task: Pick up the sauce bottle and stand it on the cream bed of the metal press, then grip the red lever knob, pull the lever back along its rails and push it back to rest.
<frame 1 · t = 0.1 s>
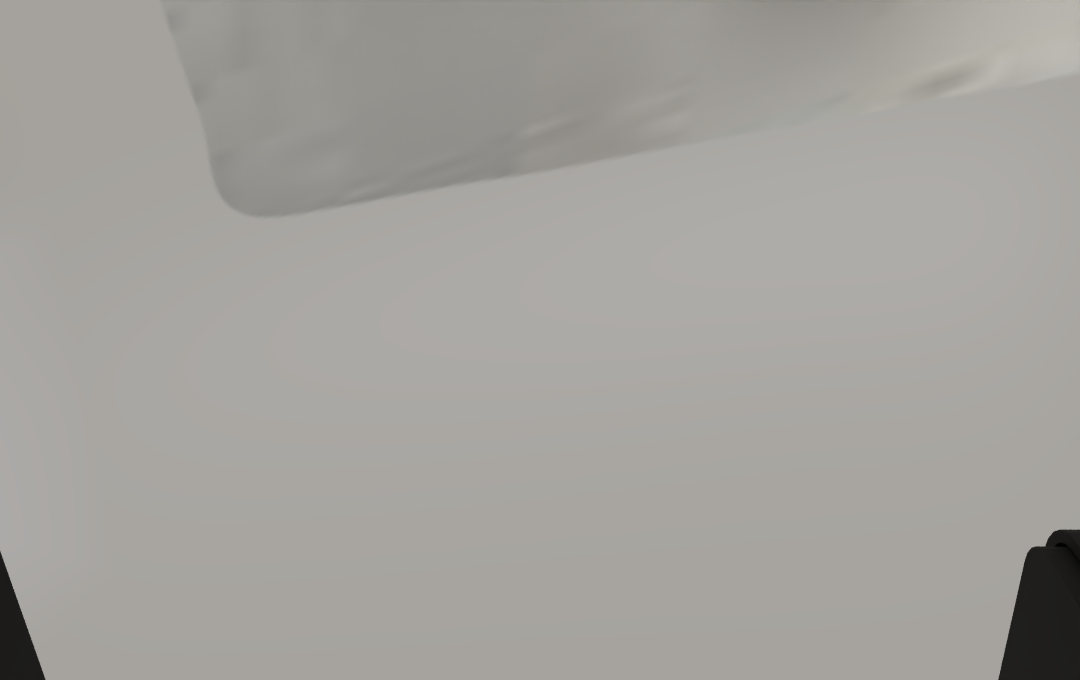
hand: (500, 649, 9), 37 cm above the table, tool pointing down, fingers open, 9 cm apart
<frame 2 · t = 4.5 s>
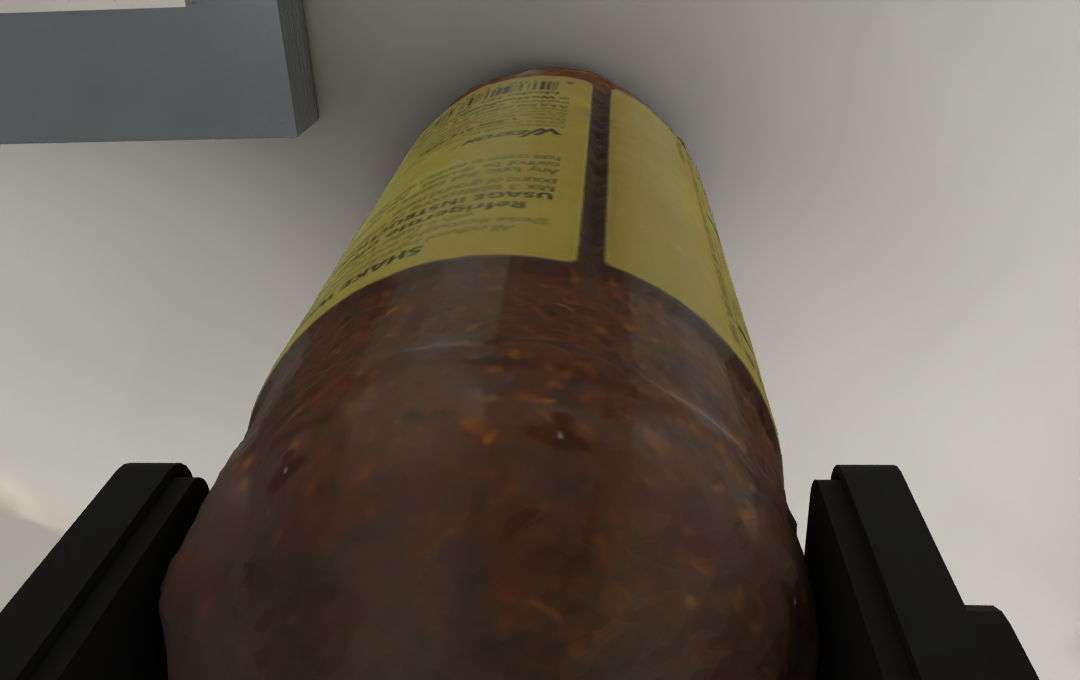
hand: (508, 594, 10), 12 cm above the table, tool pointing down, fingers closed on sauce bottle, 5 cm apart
sauce bottle: (564, 205, 21), on the table, touching gripper
when the fingers open (15 cm above the table, at t = 9.8 s): sauce bottle drops 1 cm, resting on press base.
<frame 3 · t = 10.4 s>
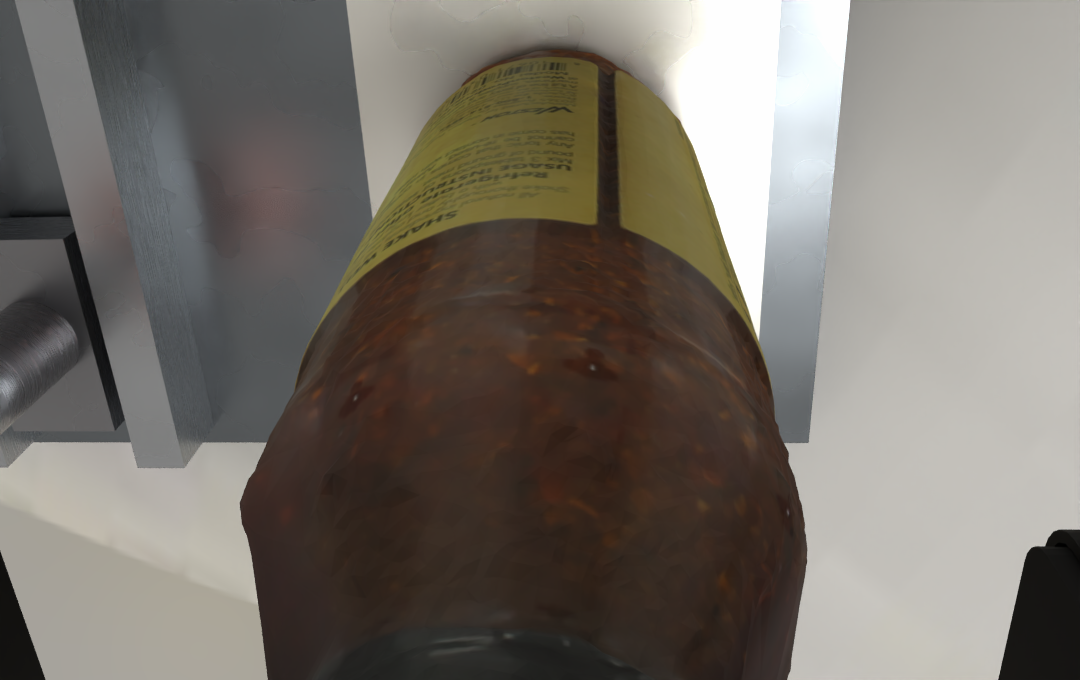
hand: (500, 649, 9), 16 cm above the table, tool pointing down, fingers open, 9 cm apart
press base: (367, 169, 24), on the table
sauce bottle: (567, 180, 22), point 2 cm above the table, touching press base
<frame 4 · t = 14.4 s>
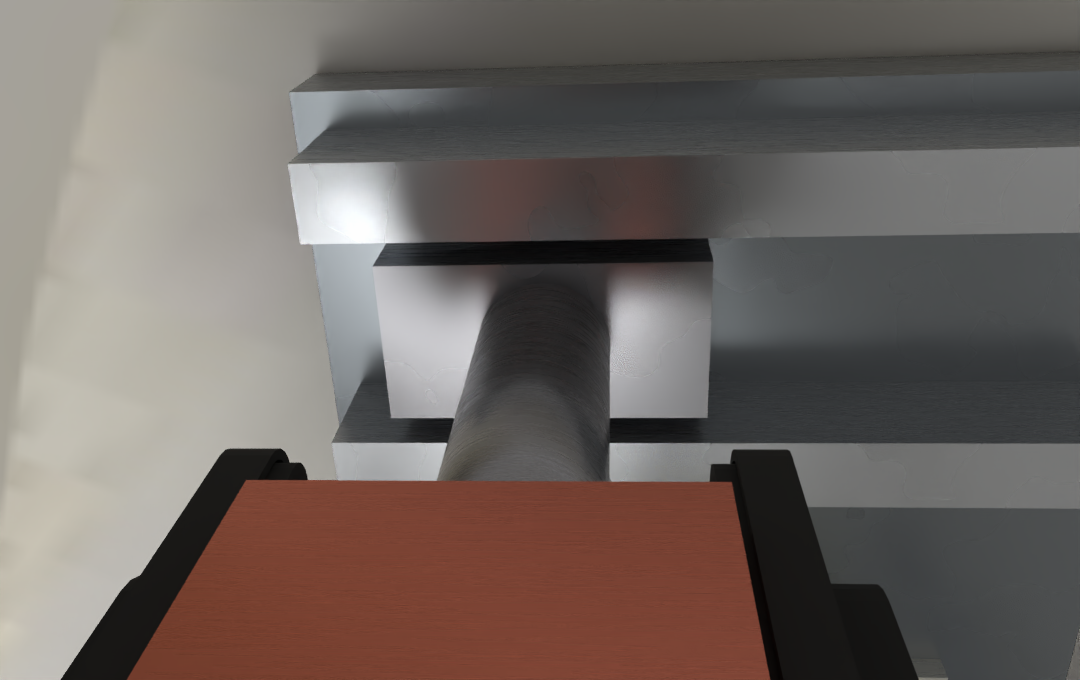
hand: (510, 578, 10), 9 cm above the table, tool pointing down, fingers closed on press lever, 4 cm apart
press lever: (522, 497, 11), point 7 cm above the table, slide at 0.0 cm, touching gripper
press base: (706, 586, 21), on the table
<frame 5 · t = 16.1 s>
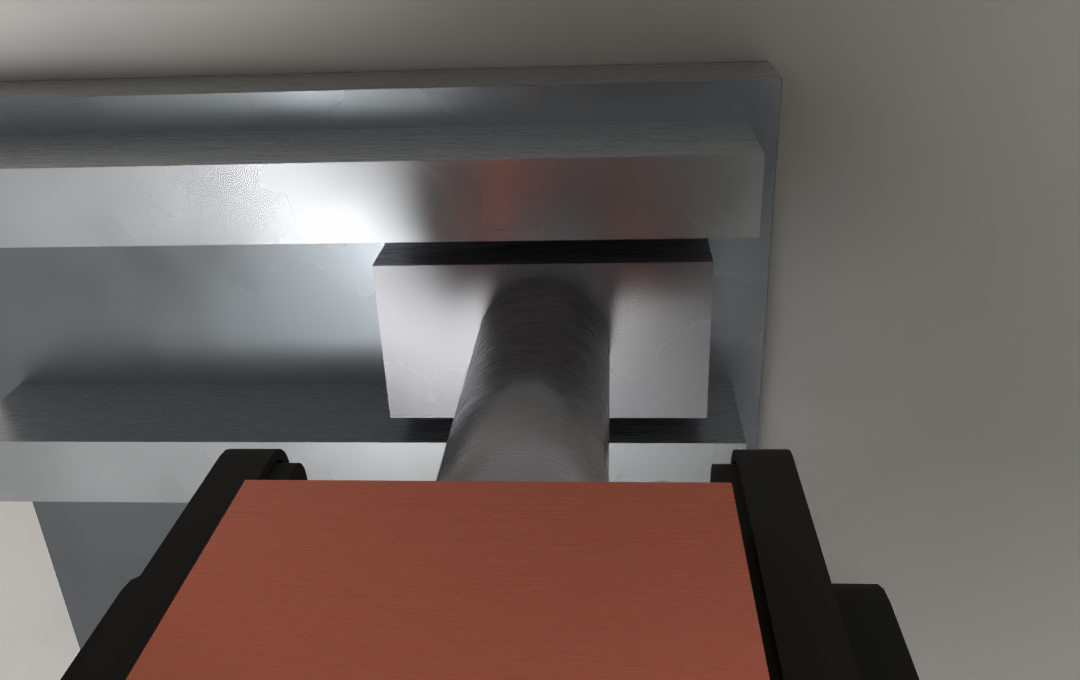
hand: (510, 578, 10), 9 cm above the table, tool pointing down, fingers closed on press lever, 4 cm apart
press lever: (521, 497, 11), point 7 cm above the table, slide at 6.4 cm, touching gripper
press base: (412, 582, 21), on the table
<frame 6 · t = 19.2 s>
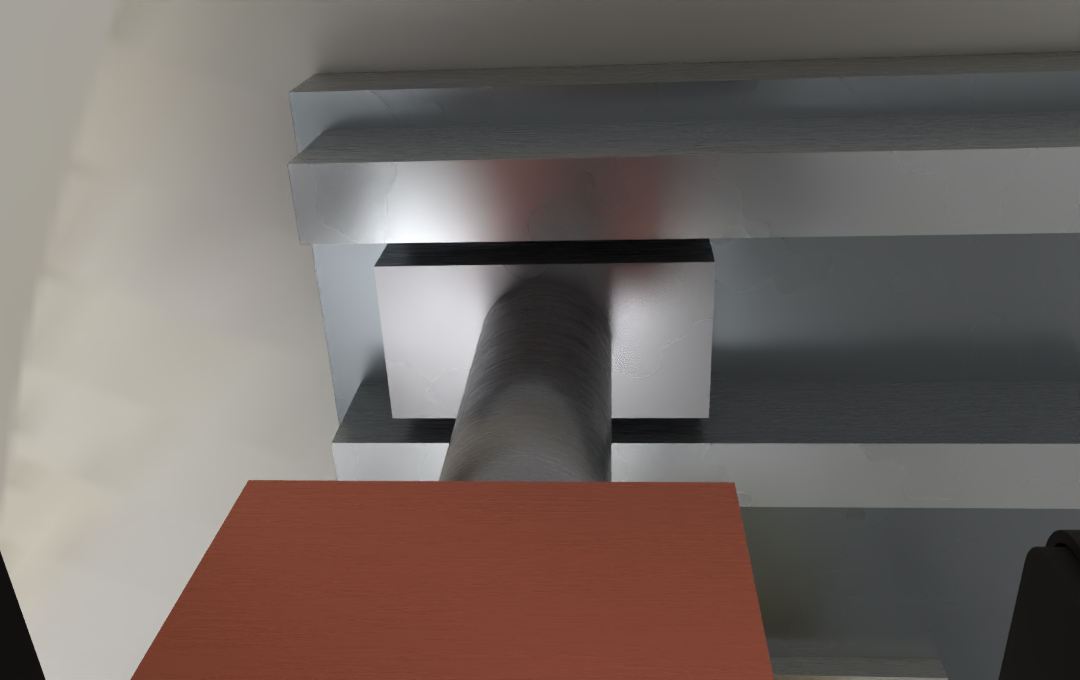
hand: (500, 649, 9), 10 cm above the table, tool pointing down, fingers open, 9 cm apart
press lever: (524, 498, 11), point 7 cm above the table, slide at 0.0 cm
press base: (706, 586, 21), on the table
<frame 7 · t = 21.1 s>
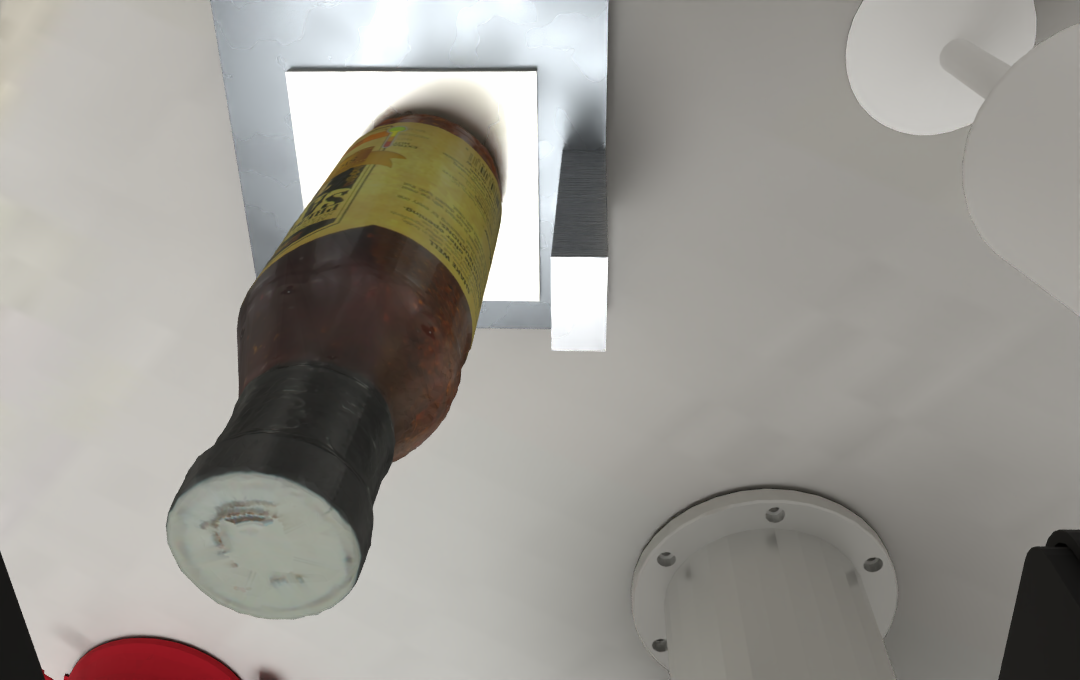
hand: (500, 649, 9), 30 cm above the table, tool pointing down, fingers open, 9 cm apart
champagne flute: (938, 43, 35), on the table
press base: (418, 45, 36), on the table
sauce bottle: (424, 191, 37), point 2 cm above the table, touching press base
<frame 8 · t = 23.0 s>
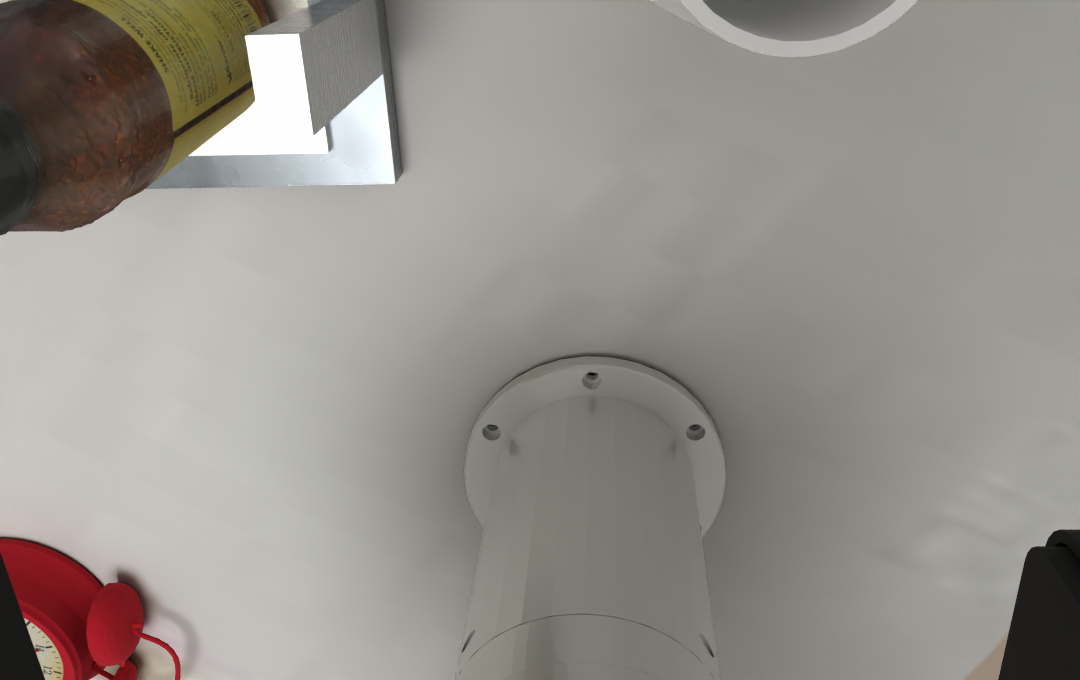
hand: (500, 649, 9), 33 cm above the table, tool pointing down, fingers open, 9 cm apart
sauce bottle: (205, 41, 38), point 2 cm above the table, touching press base
alarm clock: (63, 614, 55), on the table
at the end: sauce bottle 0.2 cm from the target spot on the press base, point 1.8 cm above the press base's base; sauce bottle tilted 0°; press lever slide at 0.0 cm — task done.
